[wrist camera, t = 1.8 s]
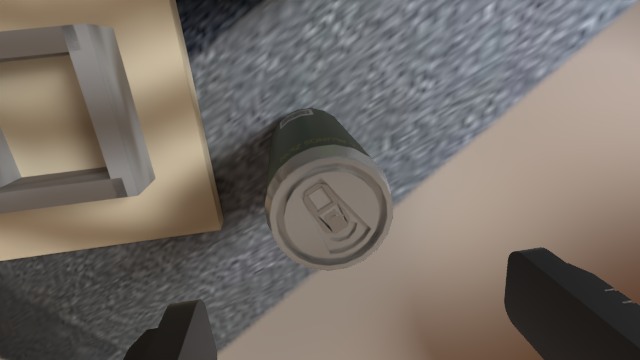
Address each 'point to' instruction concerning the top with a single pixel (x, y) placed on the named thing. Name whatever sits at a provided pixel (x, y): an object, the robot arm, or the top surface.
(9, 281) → the top surface
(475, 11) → the top surface
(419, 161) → the top surface
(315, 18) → the top surface
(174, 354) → the robot arm
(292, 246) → the beer can
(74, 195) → the collar board
